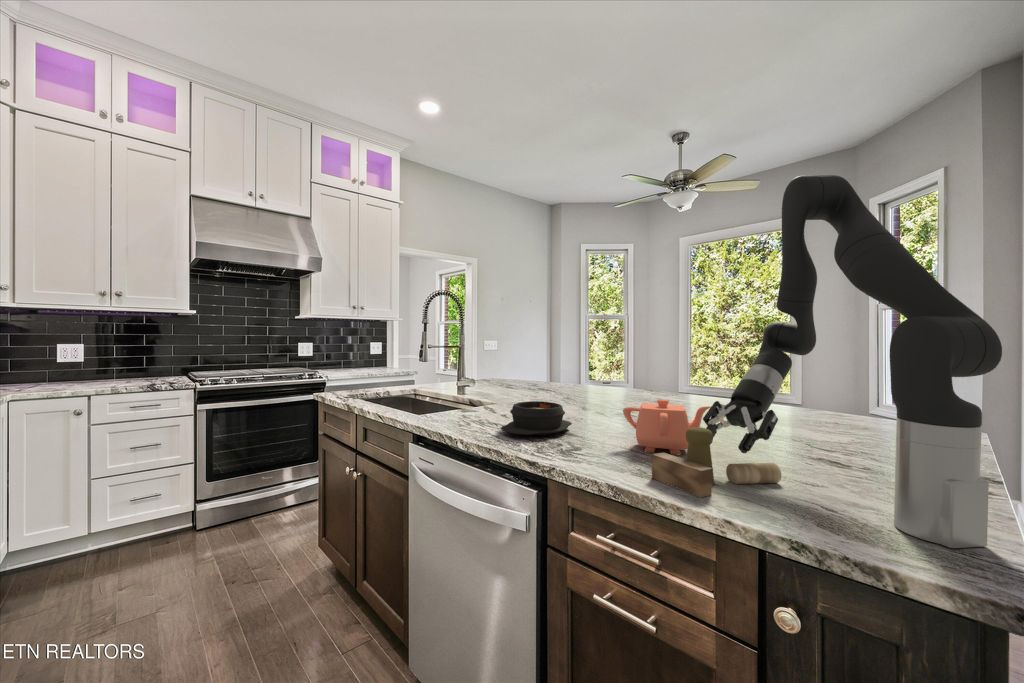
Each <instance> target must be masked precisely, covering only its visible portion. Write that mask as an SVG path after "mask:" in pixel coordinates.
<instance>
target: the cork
mask: <svg viewBox="0 0 1024 683" xmlns="http://www.w3.org/2000/svg"><path fill="white" fill-rule="evenodd" d="M706 428H707V427H701V426H700V427H692V428H689V429H688V430H687V431H686V440H687V442H688V449H686V457H685V460H688V461H692V462H695V463H698V464H701V465H704V466H707V467H710V468H713V469H714V467H713V459H712V452H711V444H712V443H713V441H714V437H713V434H712V432H711V431H710V430H709V429H706ZM714 476H715V475H714V472H713V473H712V486H714V485H715V477H714ZM713 484H714V485H713Z"/></svg>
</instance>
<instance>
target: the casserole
mask: <svg viewBox="0 0 1024 683" xmlns="http://www.w3.org/2000/svg"><path fill="white" fill-rule="evenodd" d="M509 412H510V414H511V416H512V421H511V422H509V423H507V424H505V425H502V426H501V427H500V429H501V430H502V431H504V432H507V433H509V434H514V435H515V434H516V435H521V436H522V435H524V436H534V435H544V436H550V435H554V434H557V433H560V432H563V431H566V430H567V429H568V428H569V427H570V426H571V425H573V423H572V422H570V420H564V419H563V417H564V415H565V414H566V411H565V410H564V409H563V405H562V404H560V403H556V402H549V401H539V400H537V401H535V400H531V401H530V400H529V401H521V402H517V403H514V404H513V405H512V408H511V409H510V410H509Z"/></svg>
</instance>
